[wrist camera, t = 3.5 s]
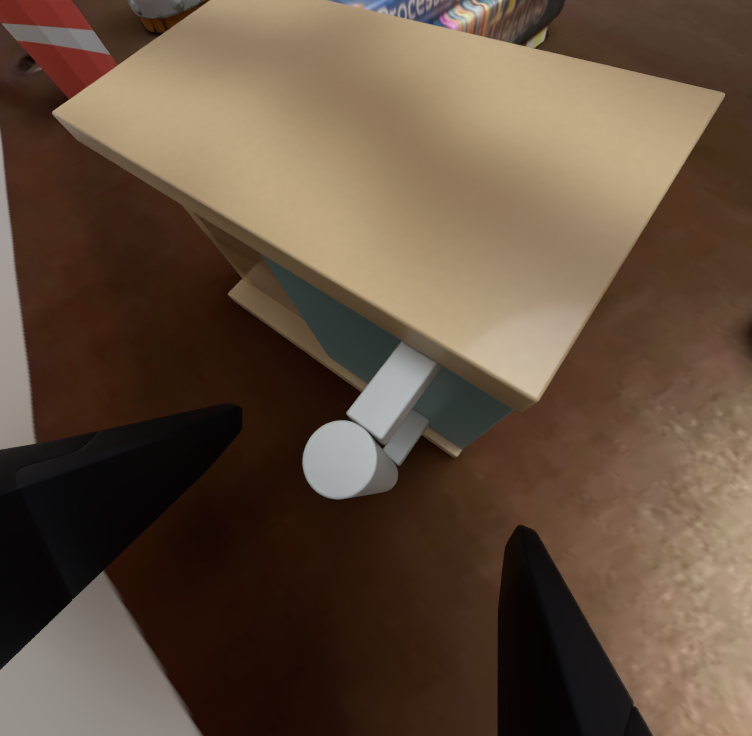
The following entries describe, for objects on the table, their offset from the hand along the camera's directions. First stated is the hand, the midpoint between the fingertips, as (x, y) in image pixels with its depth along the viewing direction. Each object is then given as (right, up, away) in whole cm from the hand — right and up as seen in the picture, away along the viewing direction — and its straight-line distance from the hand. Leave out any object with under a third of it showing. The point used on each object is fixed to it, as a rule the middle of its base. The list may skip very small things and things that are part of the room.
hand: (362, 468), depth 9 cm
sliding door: (0, 0, +7) cm, 7 cm away
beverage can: (-30, +34, +25) cm, 52 cm away
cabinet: (+1, +7, +11) cm, 13 cm away
